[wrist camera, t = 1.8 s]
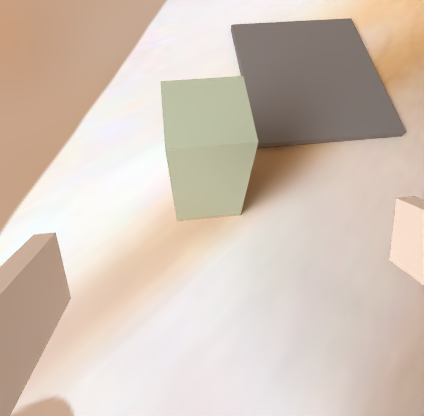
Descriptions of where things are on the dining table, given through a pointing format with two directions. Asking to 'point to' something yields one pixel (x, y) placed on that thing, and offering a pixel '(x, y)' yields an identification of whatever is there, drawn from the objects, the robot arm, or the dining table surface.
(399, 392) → the dining table surface
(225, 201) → the sage block
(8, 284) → the robot arm
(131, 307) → the dining table surface
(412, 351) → the dining table surface
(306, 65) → the mat
